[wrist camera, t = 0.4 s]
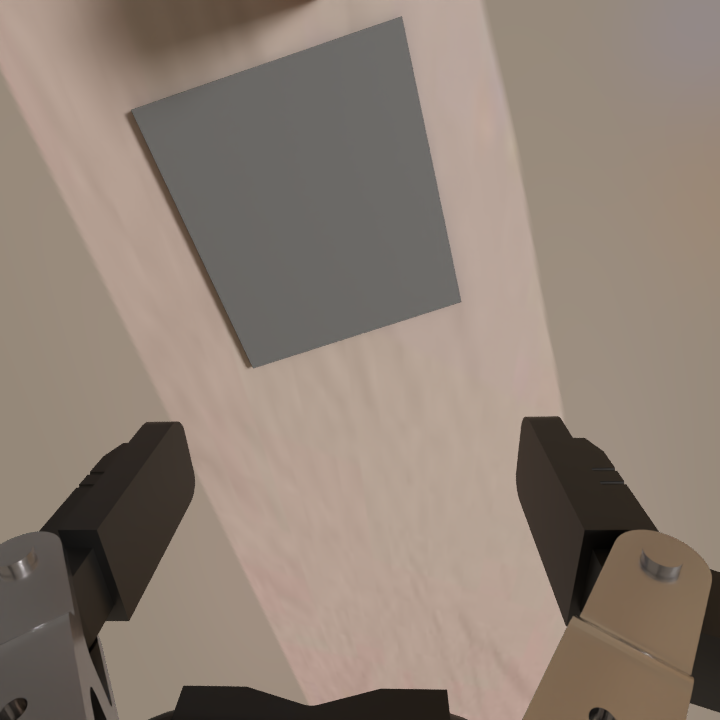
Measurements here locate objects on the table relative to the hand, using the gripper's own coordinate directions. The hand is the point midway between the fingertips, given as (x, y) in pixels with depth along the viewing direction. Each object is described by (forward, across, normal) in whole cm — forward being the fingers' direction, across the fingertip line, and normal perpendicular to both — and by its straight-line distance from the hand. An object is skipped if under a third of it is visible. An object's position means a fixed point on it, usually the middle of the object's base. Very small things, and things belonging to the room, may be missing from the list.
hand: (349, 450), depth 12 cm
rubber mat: (+28, +4, -1) cm, 28 cm away
